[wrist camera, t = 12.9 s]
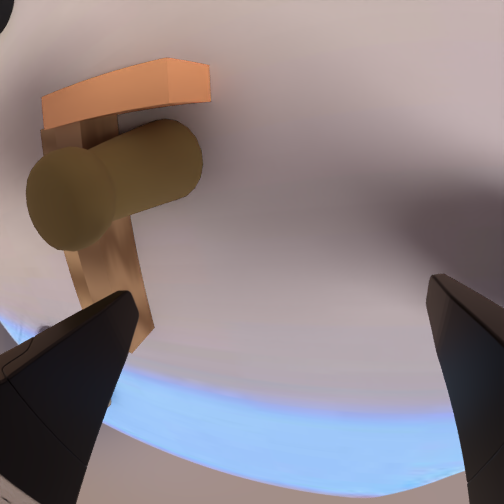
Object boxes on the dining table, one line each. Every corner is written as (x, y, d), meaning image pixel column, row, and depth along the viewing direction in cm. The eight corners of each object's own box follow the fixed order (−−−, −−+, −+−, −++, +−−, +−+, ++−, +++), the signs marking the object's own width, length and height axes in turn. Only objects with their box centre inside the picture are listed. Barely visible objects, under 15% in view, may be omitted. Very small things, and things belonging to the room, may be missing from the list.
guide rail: (230, 345, 27) (207, 385, 23) (91, 309, 32) (62, 334, 28) (209, 65, 18) (167, 57, 13) (47, 105, 23) (5, 113, 18)
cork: (174, 102, 20) (41, 119, 10) (218, 175, 21) (107, 241, 12) (120, 148, 22) (1, 190, 13) (158, 213, 24) (52, 285, 14)
